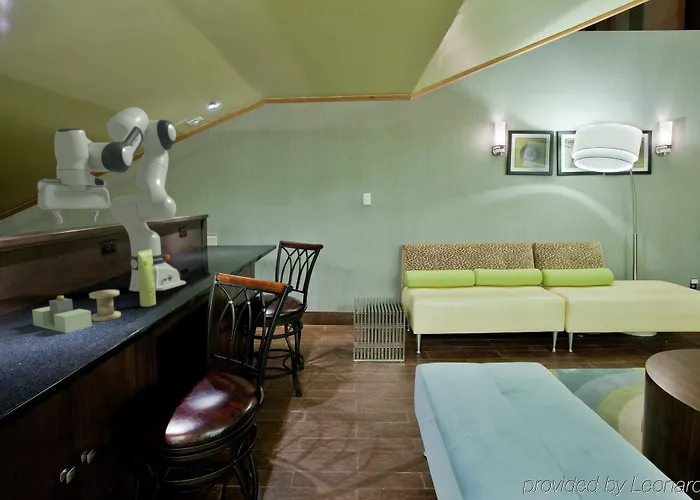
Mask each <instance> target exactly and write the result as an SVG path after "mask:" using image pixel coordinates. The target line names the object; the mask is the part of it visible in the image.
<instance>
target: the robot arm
mask: <svg viewBox="0 0 700 500" xmlns="http://www.w3.org/2000/svg"><path fill="white" fill-rule="evenodd" d="M106 124H107V125H106V130H107V134H108V135H109V137H110V138H111V139H112V141H113V142H109V141H108V142H93V141H92V140H90V139H89V138H88V137H87V136H86V132H85V130H84V129H83V128H76V127H75V128H68V127H67V128H59V129H56V132H55V134H54V143H53V144H54V156H55V159H56V161H57V162H56V167H55V168H56V178H42V179H40V180H38V182H37V184H36V188H37V206H38V208H40V210H52V215H53V216H54V217H55V218H56V220H57V224H58V225H66V224H67V223H66V218H63V216H62V215H61V213H62V210H90V212H91V213H92V214H91V217H88V223H89V224H96V223H97V217H98V216H99V214H100V210H107V209H109V211H110V214H111V216H113V218H114V219H115V220H116V221H118V222H119V223H120V224H121V225H122V226H123V227H124V228H125V230H126V232H127V234H128V237H129V242H130V243H129V244H130V251H131V255H130V258H129V259H130V266H131V267H130V268H131V278H130V284H129V285H130V286H129V288H128V290H129V291H131V292H140V291H139V273H138V252H139V251H144V250H149V249H152V256H153V269H154V282H155V291H166V290H169V289H173V288H176V287H179V286H182V285H183V286H184V285H186V284H187V282H186V281H185V280H181V277H180V271H178V269H177V268H174V267H173V266H171V265H170V264H169V263H167V262H166V260H170V258H171V256H170V255H169V254H164V255H163V254H162V248H161V247H162V246H161V237H160V235H159V233H157V232H156V231H154V230H152V229H150V228H149V226H148V224H147V222H148V223H151V222H152V223H153V222H154V223H156V222H164V221H165V222H166V221H170V220H172V219H173V218H174V217H175V216H176V213H177V204H176V202H175V200H174V199H173V198H172V197H171V196H170V195H168V194H167V191H166V179H167V174H168V171H169V170H168V169H169V161H170V160H169V150H171V149H172V147H173V145H174V144H175V142H176V140H177V135H178V134H177V130H176V127H175V124H173V123H172V122H171V121H170V120H167V119H149V116H148V114H147V113H146V112H145V111H144V110H143V109H142V108H140V107H137V106H131V107H127V108H124V109H122V110H120V111H118V112H117V113H116V114H114V115H113V116H112V117H111V118H110V119H109V120H108V122H107V123H106ZM140 148H144V152H143V154H142V156H141V159H140V161H139V165H138V168H137V171H136V176H135V183H136V185H137V186H138V187H139V188H140V189H141V190H143V191H144V194H125V195H120V196H116V197H113V199H112V200H110V193H109V190H108V188H107V185H108V181H107V180H106V179H103V178H102V177H98V176H95V175H93V174H91V172H92V173H99V172H101V173H103V172H104V173H106V172H107V173H109V172H112V173H118V174H119V173H120V174H122V173H126V172H127V171H129V169H130V168H131V166H132V163H133V162H134V161H133V160H134V157H135V156H136V154H137V153H138V151H139V149H140Z"/></svg>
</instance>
